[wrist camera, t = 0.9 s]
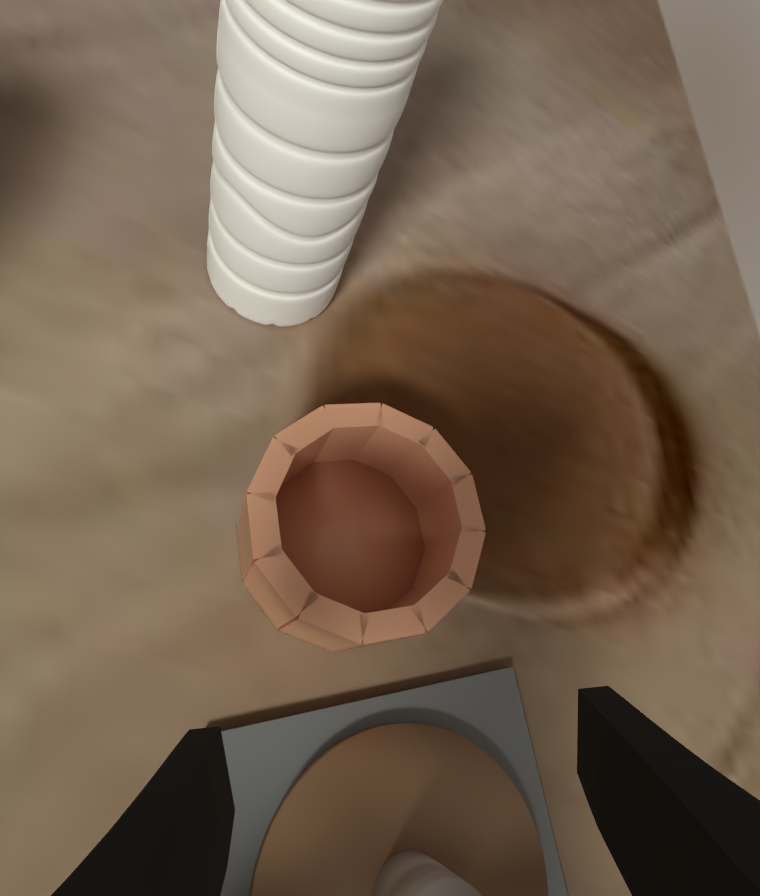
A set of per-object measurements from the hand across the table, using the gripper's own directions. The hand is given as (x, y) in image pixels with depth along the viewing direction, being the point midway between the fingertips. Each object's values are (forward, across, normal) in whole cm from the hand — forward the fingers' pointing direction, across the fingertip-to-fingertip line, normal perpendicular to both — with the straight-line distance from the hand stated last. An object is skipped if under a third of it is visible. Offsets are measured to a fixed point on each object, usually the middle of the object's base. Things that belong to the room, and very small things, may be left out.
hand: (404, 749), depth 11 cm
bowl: (+14, +1, +2) cm, 14 cm away
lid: (+6, 0, +12) cm, 14 cm away
